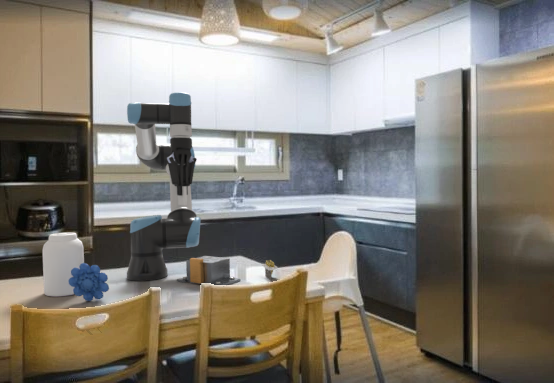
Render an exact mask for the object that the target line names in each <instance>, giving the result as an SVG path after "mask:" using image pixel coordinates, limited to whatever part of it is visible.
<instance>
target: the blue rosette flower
mask: <svg viewBox="0 0 554 383" xmlns="http://www.w3.org/2000/svg"><path fill="white" fill-rule="evenodd" d="M79 268H80V269H79ZM79 268H73V269H72V270H71V275H72V276H73V277H71V278H70V279H69V280H68V281H69V284H70V285H71V286H72V287H75V288H74V289H73V292H74V295H75V296H76V297H83V299H84V300H85V301H86V302H91V301H93V299H95V300H102V299H103V297H104V293H107V292H108V291H109V290H110V287H109V284H108V283H107V281H108V279H109V278H108V274H106V273H105V272H101V268H100V267H99V265H97V264H92V265H89V264H88V263H86V262H84V263H82V264H80V266H79Z"/></svg>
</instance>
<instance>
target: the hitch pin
mask: <svg viewBox="0 0 554 383" xmlns="http://www.w3.org/2000/svg"><path fill="white" fill-rule="evenodd" d="M189 259H190V282H194V283H193V284H196V283H204V268H203V259H200V258H198V257H190V258H189ZM190 282H189V283H190Z"/></svg>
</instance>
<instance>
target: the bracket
mask: <svg viewBox="0 0 554 383" xmlns="http://www.w3.org/2000/svg"><path fill="white" fill-rule="evenodd" d="M197 258H200V259H203V268H204V283H211V284H214V285H226V286H229V285H231V284H235V283H238V282H240V281H241V278H239V277H238V278H237V277H234V276H231V270H230V268H231V267H230V266H231V263H230V262H231V261H230V258H229V257H221V256H219V257H218V256H212V255H211V256H210V255H203V256H198V257H197ZM185 262H186V264H185V265H186V266H185V267H186V276H182V277H180V278H177V279H176V282H177V283H179V282H180V283H191V284H198V285H202V284H201V283H194V282H190V258H188V259H186V261H185Z"/></svg>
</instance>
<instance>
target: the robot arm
mask: <svg viewBox="0 0 554 383" xmlns="http://www.w3.org/2000/svg"><path fill="white" fill-rule="evenodd" d="M126 108H127V109H126V115H127V121H128V124H132V125H134V129H135V136H136V143H137V145H136V147H135V152H136V155H137V156H136V157H137V158H138V160H140V162H141V163H142V164H143V165H145V166H146V167H148V168H151V169H153V170H158V171H166V173H167V174H168V175H169V196H170V198H169V199H170V200H169V201H170V212H169V213H168V214H167V217H166V218H163V217H162V215H161V214H155V215H147V216H143V217H138V218H134V219H133V220H131V222H130V225H129V226H130V228H129V229H130V231H129V234H130V260H129V264H128V268H127V271H126V279H127V280H129V281H135V282H141V281H144V282H145V281H154V280H159V279H164V278H166V277H168V268H167V266H166V262H165V259H164V256H163V249H180V248H184V249H185V248H187V249H188V248H194V247H197V246H198V245H200V244H199V243H200V236H201V235H200V233H201V232H200V231H201V219H202V218H201V217H199V216H197V213H196V212H195V210H193V202H192V190H191V185H192V184H193V177H194V172H195V168H196V164H197V163H196V162H197V157H195V156H196V155H195V150H194V147H193V139H192V138H191V137H192V132H193V131H192V130H193V129H192V128H193V127H192V96H191V95H190V94H189V93H188V92H172V93H170V94H169V96H168V103H164V102H163V103H162V102H161V103H155V102H153V103H152V102H130V103H128V104H127V107H126ZM156 125H169V137H171V138H170V139H169V141H170V142H169V143H158V142H157V135H156V134H157V133H156V130H157V129H156Z"/></svg>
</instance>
